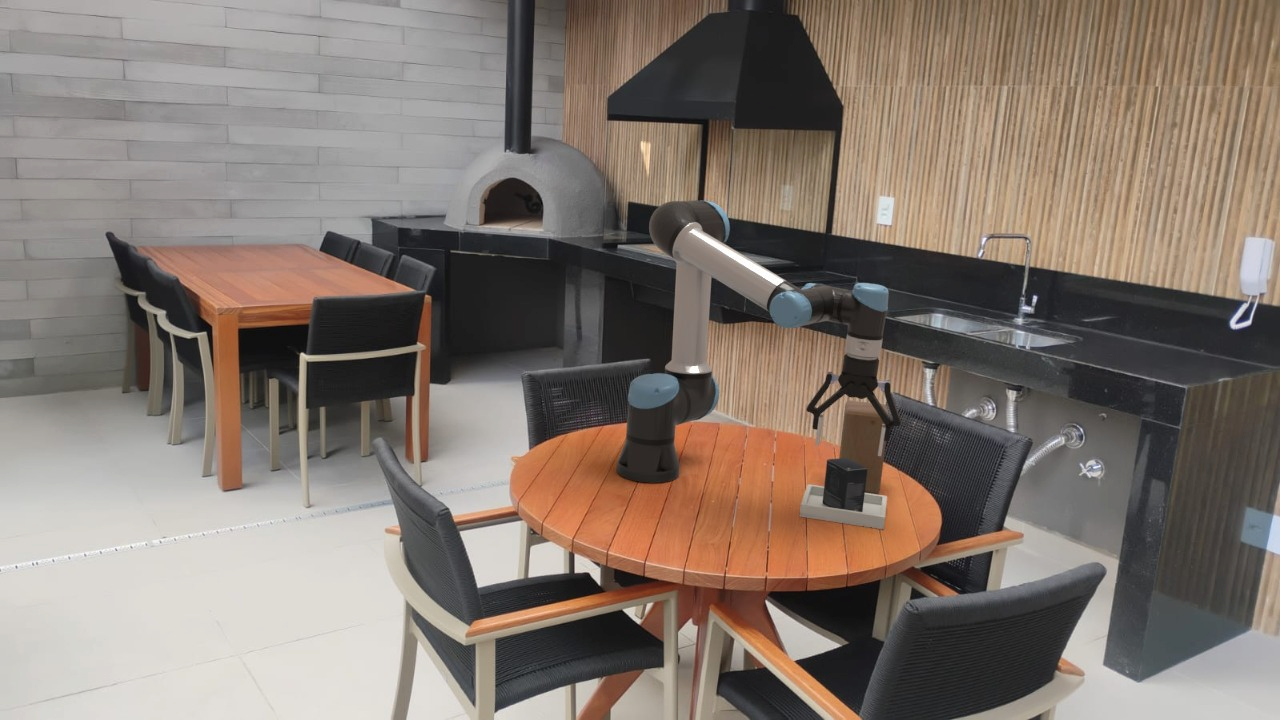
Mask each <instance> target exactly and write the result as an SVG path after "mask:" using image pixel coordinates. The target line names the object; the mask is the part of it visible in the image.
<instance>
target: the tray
mask: <svg viewBox="0 0 1280 720" xmlns="http://www.w3.org/2000/svg"><path fill="white" fill-rule="evenodd" d="M823 494H824V486H823V485H818V484H817V485H816V484H808V483H807V485H806V488H805V491H804V494H803V497H802V500H801V503H800V506H799V507H800V509H799V517H802V518H808V519H814V520H815V519H816V520H819V521H826V522H827V521H828V522H833V523H841V524H846V525H853V526H858V527H859V526H860V527H863V526H864V528H870V527H872V528H871V529H876V528H877V529H878V530H882V529H883V530H884V529H885V521H886V512H887V511H886V510H887V502H888V496H887V495H882V494H870V493H865V495H864V503H863V511H862V512H857V511H851V510H844V509H838V508H832V507H828V506H826V505H825V504H823ZM883 530H882V531H883Z"/></svg>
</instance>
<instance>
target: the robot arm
mask: <svg viewBox="0 0 1280 720" xmlns="http://www.w3.org/2000/svg"><path fill="white" fill-rule="evenodd" d="M648 229H649V231H648V232H649V235H650V238H651V240H652V242H653V244H654V245H655V246H656V247H657V248H658V249H659V250H661V252H663V253H664V254H666V255H668V256H669V257H671V258H672V259H673V261H674V262H675V263H676V269H675V271H676V272H675V286H674V288H675V289H674V291H675V292H674V309H673V327H672V328H673V330H672V345H671V347H672V348H671V360H670V361H668V363H666V365H665V367H664V373H661V372H656V373H652V374H651V373H646V374H642V375H639V376H636V377H635V378H634V379H632V381H630V384H629V390H628V394H627V414H626V415H627V417H626V435H625V441H624V444H623V446H622V449H621V451H620V454H619V457H618V459H617V463H616V473H617V474H618V475H619V476H620V477H622V478H624V479H627V480H630V481H631V480H632V481H633V482H634V481H635V482H640V483H648V484H649V483H651V484H652V483H655V484H657V483H659V484H660V483H667V482H670V481H674V480H676V479H678V478H679V476H680V470H681V469H680V468H681V466H680V465H681V464H680V461H679V457H678V453H677V448H676V445H675V439H676V426H679V425H683V424H685V423H686V424H687V423H689V422H692V421H699V420H700V419H702V418H704V417H706V416H709V415H710V414H711V413H712V412H714V410H715V409H716V407H717V405H718V403H719V400H720V387H719V383H718V382H717V381H716V378H715V376H714V375H713V368H712V366H711V365H710V364H709V363H708V362H707V357H708V356H707V355H708V339H709V323H710V322H709V321H710V307H711V292H712V291H711V289H712V278H713V279H715V280H716V281H719V282H720V283H721V284H723V285H725V286H726V287H728V288H729V289H731V290H733V291H735V292H736V293H738V294H739V295H741V296H743V297H744V298H746V299H748V300H749V301H751V302H752V303H754V304H756V305H757V306H759V307H761V308H762V309H763V310H764V311H765V310H766V311H767V312H768V313H769V315H770V318H772V320H773V323H775V324H776V325H777V326H779V327H781V328H783V329H796V328H801V327H803V326H808V325H812V324H817V323H823V322H832V323H836V324H841V325H843V326H844V325H845V326H847V333H846V338H845V339H846V340H845V347H844V352H845V354H844V355H843V361H842V368H841V373H840V374H834V373H833V372H832V371H828V372H827V373H826V377H825V380H824V382H823V384H822V385H821V386H820V387H819V389H818V390H817V392H816V393H815V395H814V396H813V398H812V399H811V401H810V402H809V403H808V404H807V406H806V409H805V410H806V412H808V413H811V414H812V416H813V419H812V420H813V421H812V429H813V430H816V435H815V442H814V443H815V444H814V445H815V446H817V447H818V446H819V445H820V442H821V438H822V437H821V436H822V435H821V434H822V429H823V423H824V422H823V420H824V416H825V415H824V414H823V413H824V412H825V411H826V410H828V408H830V407H831V406H832V405H834V403H836V402H837V401H838V400H840V399H841V398H843V397H844V396H845V395H846V396H847V397H848V398H857V399H860V400H863V399H867V400H868V401H869V402H868V403H871V404H872V405H873V407H874V408H875V410H876V412H877V413H878V415H879V416H880V418H881V419H882V421H883V422H884V424H882V431H881V437H880V444H879V450H878V456H881V455H882V448H883V442H884V441H886V442H889V441H890V437H891V431H892V428H893V427H900V426H901V423H902V422H901V421H902V420H901V417H900V414H899V411H898V408H897V405H896V402H895V400H894V397H893V394H892V391H891V388H892V387H891V383H892V382H891V380H889V379H888V380H885V381H883V380H882V381H880V380H878V371H879V365H880V359H879V357H880V356H881V353H882V352H881V351H882V345H883V339H884V338H883V337H884V329H885V324H886V319H887V313H888V310H889V307H888V305H889V289H888V288H887V287H886V286H884V285H881V284H877V283H871V282H870V283H869V282H858V283H855V284H854V286H853V288H852V290H850V289H846V288H841V287H835V286H831V285H826V284H824V283H813V282H809V283H806V284H805V285H804V286H803V287H801V288H799V287H798V286H796V285H794V284H793V283H790V282H789V281H788V280H786V279H784V278H782V277H781V276H779V275H777V274H776V273H774V272H772V271H771V270H769V269H767V268H766V267H764V266H762V265H761V264H759V263H757V262H756V261H754V260H752V259H750V258H748V256H745V255H743V254H742V253H740V252H739V251H738V250H736V249H734V248H732V247H730V246H729V245H727V244H725V242H726V241H727V240H728V238H729V235H730V230H731V227H730V221H729V218H728V215H727V213H726V212H725V211H724V209H723V208H722V207H721V206H720V205H718V204H717V203H715V202H713V201H709V200H708V201H707V200H701V199H700V200H698V199H697V200H681V201H680V200H671V201H667V202H664V203H662V204H661V205H660V206H658V207H657V208H656V209H655V210H654V211H653V213H652V215H651V216H650V219H649V226H648ZM836 381H838V383H839V386H840V388H839V389H837V391H835V392H834V393H833V394H832V395H831V396H830V397H829V398H827V399H826V400H825V401H824V402H823V403H821V404H820V405H819V406H818V407H816V406H817V404H818V403H819V401H820V400H821V398H822V397H823V396H824V394H825V393H826V392H827V391H828V388H829V387H830V385H834V384H835V382H836ZM877 388H880V391H881V392H884V396H885V399H886V400H885V401H886V403H887V407H888V408H889V411H890V414H891V417H892V419H891V418H890V416H888V415H889V414H888V415H887V413H886V412H885V410H884V409H883V407H882V406H881V404H882V403H880V401H879V399H878V398H877V396H876V394H875V392H874V391H875V390H876V389H877Z"/></svg>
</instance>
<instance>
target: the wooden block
mask: <svg viewBox="0 0 1280 720" xmlns="http://www.w3.org/2000/svg"><path fill="white" fill-rule="evenodd" d="M880 404H881V406H882V407H883V409H884V410H885V412H886V413H887V415H888V416H889V410H888V408H889V407H888V405H887V404H884V403H880ZM889 417H890V416H889ZM882 424H884V422H883V421H882V419H881V418H880V416H879V415H878V413H877V412H876V410H875V408H874V407H873V405H872V404H871V403H870V402H867V401H865V402H864V401H859V400H858V401H857V400H847V401H846V402H845V404H844V414H843V422H842V430H841V437H840V438H841V439H840V446H839V447H840V448H839V449H840V450H839V457H838V459H839V458H848V459H850V460H852V461H854V462H856V463H858V464H860V465H862V466H864V467H865V468H867V469H868V470H867V478H866V487H865V493H871V494H877V495H879V493H880V492H881V486H882V485H881V484H882V483H881V482H882V476H883V467H884V460H885V459H884V458H885V451H886V444H887V441H884V442H883V448H882V455H881V456H878V450H879V444H880V437H881V431H882Z"/></svg>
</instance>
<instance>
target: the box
mask: <svg viewBox="0 0 1280 720" xmlns="http://www.w3.org/2000/svg"><path fill="white" fill-rule="evenodd" d="M825 468H826V469H825V476H824V477H825V478H824V494H823V504H825V505H826V506H828V507H832V508H838V509H844V510H851V511H857V512H862V511H863V503H864V495H865V487H866V478H867V470H868V469H867V468H865V467H864V466H862V465H860V464H858V463H856V462H854V461H852V460H850V459H848V458H839V457H838V458H828V459H827V460H826V465H825Z"/></svg>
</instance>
